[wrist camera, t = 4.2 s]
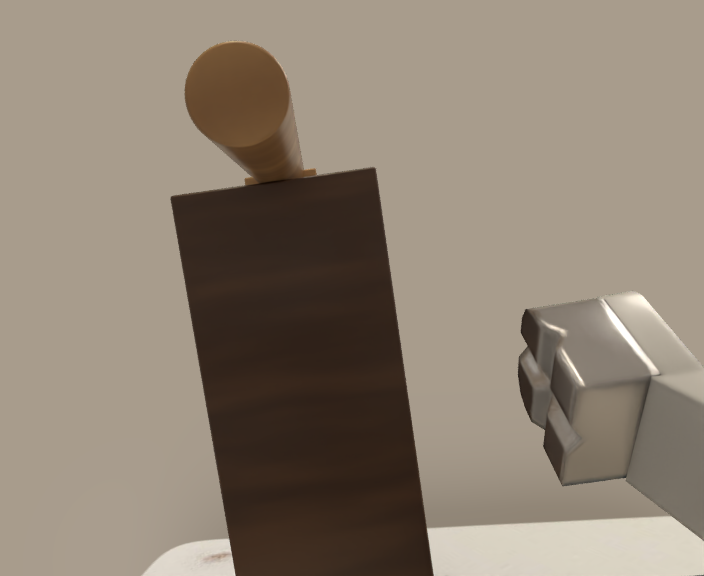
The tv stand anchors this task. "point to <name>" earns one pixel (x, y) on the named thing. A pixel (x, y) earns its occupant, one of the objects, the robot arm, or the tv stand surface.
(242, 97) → the wooden dowel
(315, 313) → the tall wooden pillar
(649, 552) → the tv stand surface
